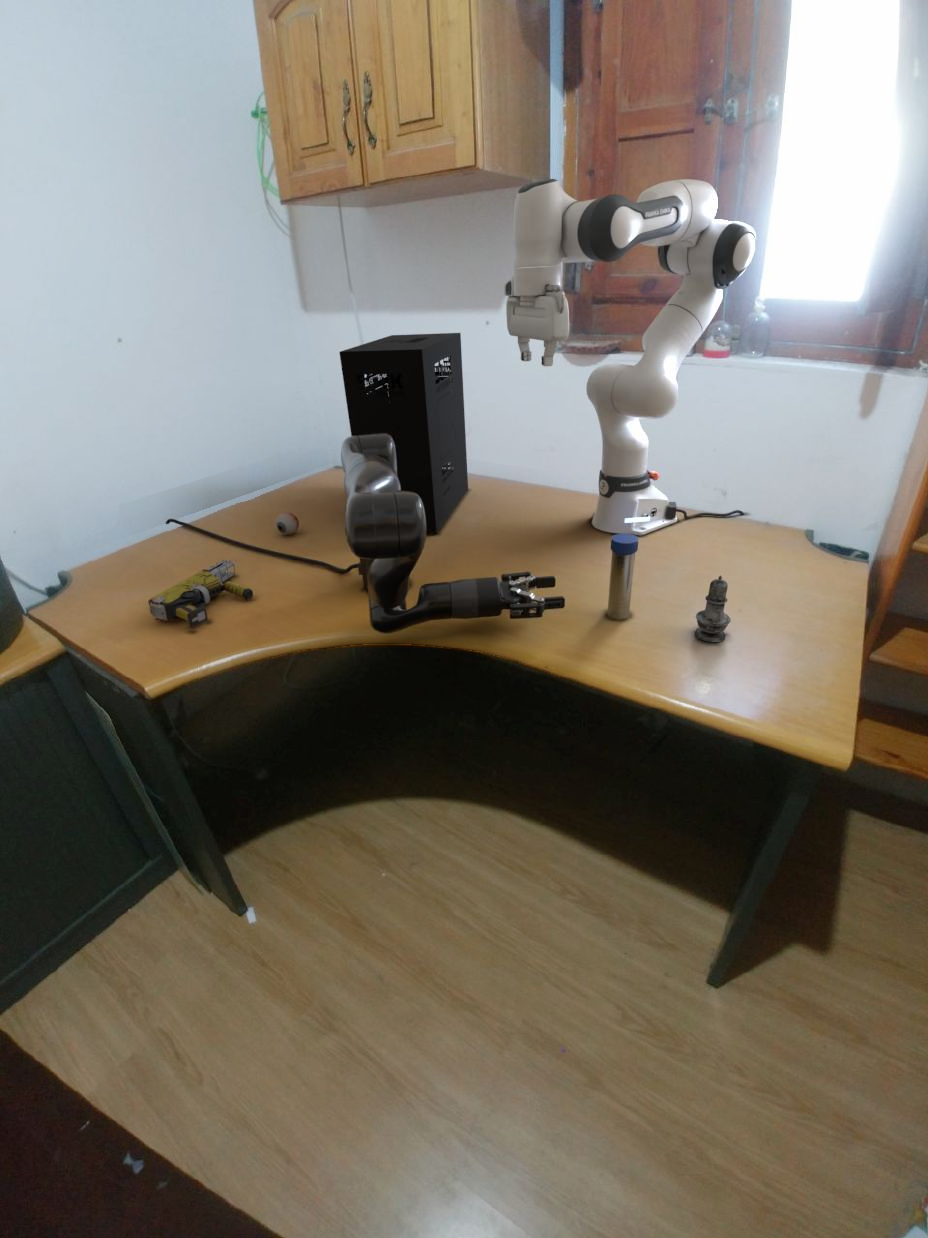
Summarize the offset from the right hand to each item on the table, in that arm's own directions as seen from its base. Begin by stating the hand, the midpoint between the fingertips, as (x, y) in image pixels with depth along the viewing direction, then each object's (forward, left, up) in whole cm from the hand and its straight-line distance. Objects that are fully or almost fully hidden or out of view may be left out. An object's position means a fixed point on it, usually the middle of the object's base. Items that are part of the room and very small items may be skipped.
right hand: (536, 363), depth 121 cm
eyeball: (+49, -49, -43) cm, 82 cm away
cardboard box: (+10, -48, -43) cm, 65 cm away
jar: (-1, +31, -43) cm, 53 cm away
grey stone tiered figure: (-11, +45, -43) cm, 63 cm away
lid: (-1, +31, -28) cm, 41 cm away
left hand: (+10, +27, -37) cm, 47 cm away
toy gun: (+70, -17, -43) cm, 84 cm away
